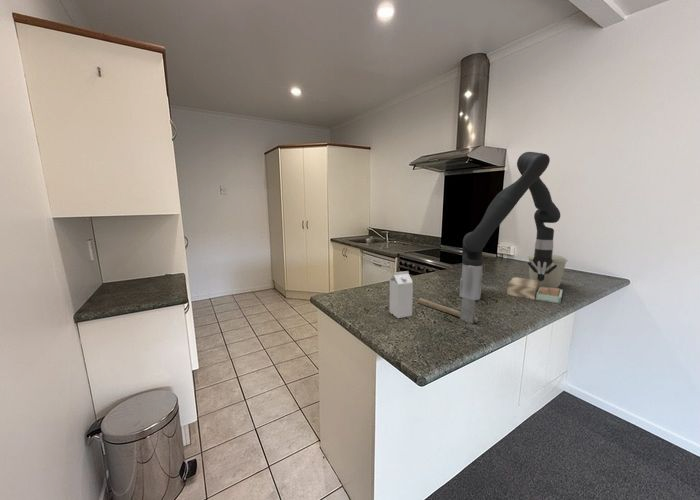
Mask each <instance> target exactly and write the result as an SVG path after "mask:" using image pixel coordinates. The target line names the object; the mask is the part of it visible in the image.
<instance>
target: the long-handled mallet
mask: <svg viewBox="0 0 700 500" xmlns="http://www.w3.org/2000/svg"><path fill="white" fill-rule="evenodd" d="M417 303H418V304H419V303H420V305H422V306H426V307H428V308H431V309H434V310H437V311H441V312H444V313H446V314H450V315H453V316H456V317H457V318H459V319H460V320H461V321H464V322H467V323H469V324H475V323H477V322H478V321H479V318H478V317H477V316H476V300H472V299H468V298H465V297H461V307H460V310H456V309H453V308H452V307H447V306H446V305H445V306H444V305H442V304H438V303H436V302H433V301H430V300H428V299H424V298H421V297H419V298H418V300H417Z"/></svg>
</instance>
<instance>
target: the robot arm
mask: <svg viewBox="0 0 700 500" xmlns="http://www.w3.org/2000/svg"><path fill="white" fill-rule="evenodd" d="M550 162H551V161H550V156H549V155H548V154H546V153H542V152H535V151H526V152H523V153H522V154H520V155H519V156H518V159H517V162H516V167H517V170H518V171H519V174H520V177H519V178H517V180H516V181H514V182H513V183H511V184H510V185H508V186H507V187H505V188H503V189H502V190H501V191H499V192H498V193H497V194H496V195H495V196H494V198H493V199H492V201H491V202H490V204H489V205H488V206H487V208H486V211H485V212H484V215H483V217H482V219H481V221H480V222H479V223H478V225H477V226H476V227H475V229H473V230H472V231H470V232H468V233H466V234H465V235H464V237H463V239H462V253H461V254H462V267H461V278H460V280H459V298H462V297H465V298H468V299H472V300H475V301H479V300H480V299H482V298H481V296H482V281H483V269H484V268H483V264H484V258H483V249H484V248H485V246H486V244H487V243H488V241H489V240H490V238H491V236H492V235H493V234H494V232H495V231H496V229H498V227H499V226H500V225H501V224H502V223H503V222H504V220H505V219H506V218H507V216H509V214H510V213H511V212H512V211H513V209H514V208H515V207H516V205H517V204H518V202H519V201H520V200H521V199H522V197H523V196H524V195H525V194H526V193H527V191H528V190H529V192H530V195H531V198H532V200H533V201H532V202H533V204H534V206H535V208H536V209H537V210H536V211H535V212H534V215H533V219H534V224H535V228H536V237H535V238H536V239H535V244H534V253H533V254H534V258H533V260H532V261H531V262H529V261H528V262H527V265H528V267H529V266H530V267H531V269H532V270H533V271H534V272H536V273H537V274H538V277H537V279H538V280H539V281H542V280H544V276H545V274H549V273H550V272H551V271H552V270H554V269H555V268H556V267H557V264H554V263H553V260H552V255H553V253H554V252H553V251H554V236H555V235H554V234H555V230H554V228H552V227H550V226H546V225H545V224H556V223H557V222H559V221H560V219H561V212H560V210H559V208H558V206H556V204H555V202H553V199H552V195H551V192H550V189H549V188H548V187H547V185H546V184H545V183H544V181H543V180H542V179H541V178H540V177H541V176H542V175H543V174H544V172H545V171H546V170H547V168H549V167H548V166H549V165H550ZM533 262H534V263H535V265H536V266H537V267H538V270H537V269H536V268H535V267H534V266H533V264H534V263H533ZM551 264H552V265H551ZM549 265H551V268H550V269H549V270H547V271H545V270H546V268H547V267H548V266H549ZM541 267H542V268H543V269H542V274H541Z"/></svg>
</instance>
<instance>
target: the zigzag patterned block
mask: <svg viewBox="0 0 700 500" xmlns="http://www.w3.org/2000/svg"><path fill="white" fill-rule="evenodd" d="M538 289H539V280H531V279H530V278H525V277H524V278H523V277H516V276H515V277H514V276H513V277H512V278H511V280H510V281H508V283H507V290H506V291H507V293H506V295H507V296H513V297H518V298H524V297H525V299H529V298H530V300H536V294H537V292H538Z"/></svg>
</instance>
